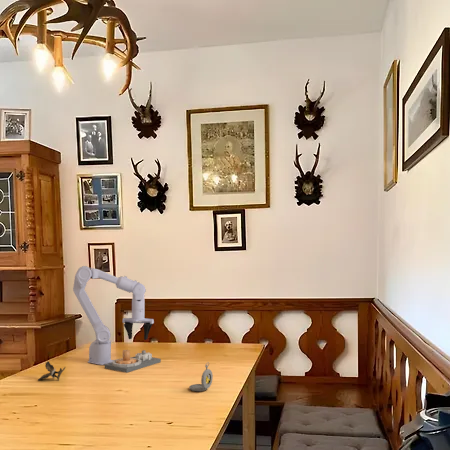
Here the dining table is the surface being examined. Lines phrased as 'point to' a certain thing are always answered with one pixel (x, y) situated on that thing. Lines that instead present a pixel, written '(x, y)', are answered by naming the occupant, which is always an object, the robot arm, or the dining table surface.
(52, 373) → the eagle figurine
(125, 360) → the planet gear
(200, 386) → the pocket watch
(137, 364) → the carrier plate
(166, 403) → the dining table surface
